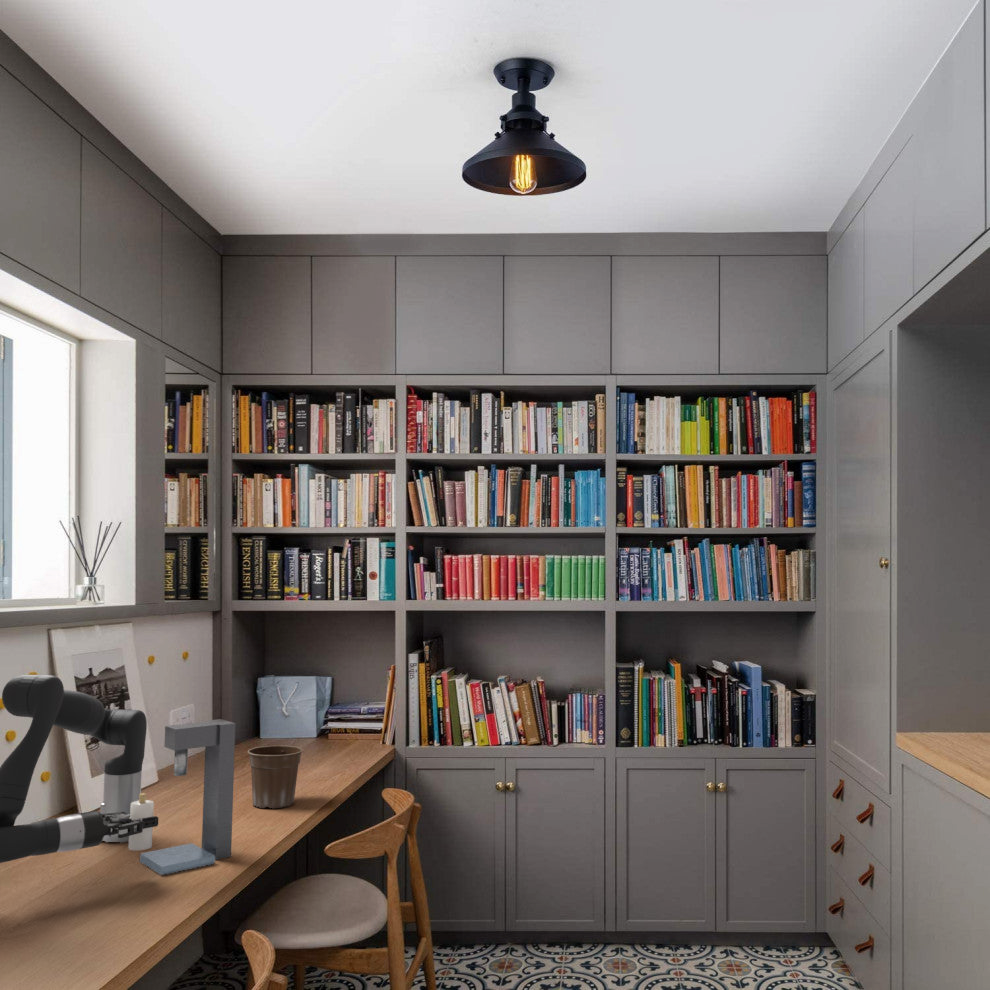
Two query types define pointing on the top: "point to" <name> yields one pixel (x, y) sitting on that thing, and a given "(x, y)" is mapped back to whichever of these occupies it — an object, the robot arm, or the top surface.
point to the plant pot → (274, 775)
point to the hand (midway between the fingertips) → (152, 818)
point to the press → (215, 800)
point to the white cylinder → (137, 811)
